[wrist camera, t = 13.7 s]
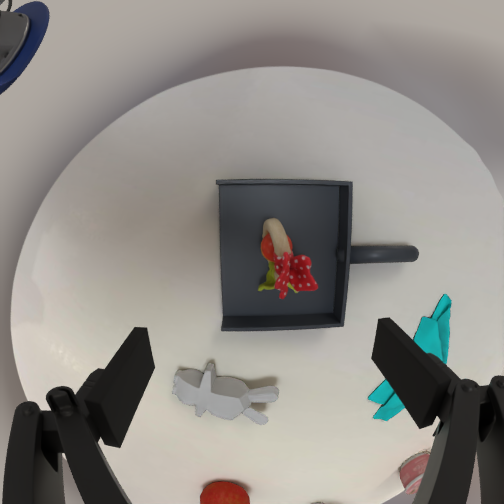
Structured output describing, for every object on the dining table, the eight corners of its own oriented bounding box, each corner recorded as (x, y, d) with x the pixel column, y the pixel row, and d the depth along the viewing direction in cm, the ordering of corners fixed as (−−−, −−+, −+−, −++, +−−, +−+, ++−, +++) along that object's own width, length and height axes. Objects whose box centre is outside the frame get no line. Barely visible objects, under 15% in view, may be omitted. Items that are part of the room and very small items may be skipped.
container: (387, 475, 49) (397, 497, 42) (412, 450, 47) (424, 472, 40) (414, 472, 50) (424, 491, 42) (438, 447, 48) (450, 466, 41)
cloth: (400, 423, 45) (404, 430, 42) (351, 413, 43) (355, 421, 41) (476, 316, 40) (483, 320, 38) (438, 288, 39) (446, 293, 36)
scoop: (223, 318, 39) (221, 331, 35) (219, 181, 35) (216, 179, 31) (402, 308, 39) (414, 318, 35) (412, 187, 35) (428, 188, 31)
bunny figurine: (173, 365, 36) (282, 395, 35) (184, 348, 41) (282, 375, 40) (167, 412, 37) (262, 438, 37) (177, 393, 42) (264, 417, 42)
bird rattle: (243, 240, 38) (263, 307, 36) (230, 213, 27) (257, 307, 25) (289, 226, 38) (310, 293, 36) (293, 194, 27) (324, 286, 25)
